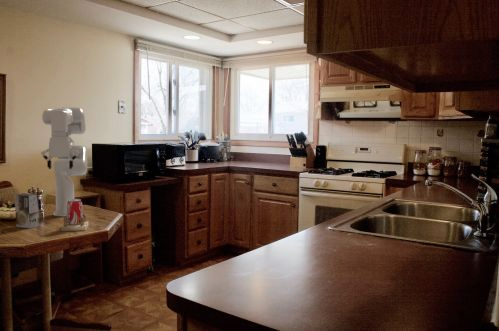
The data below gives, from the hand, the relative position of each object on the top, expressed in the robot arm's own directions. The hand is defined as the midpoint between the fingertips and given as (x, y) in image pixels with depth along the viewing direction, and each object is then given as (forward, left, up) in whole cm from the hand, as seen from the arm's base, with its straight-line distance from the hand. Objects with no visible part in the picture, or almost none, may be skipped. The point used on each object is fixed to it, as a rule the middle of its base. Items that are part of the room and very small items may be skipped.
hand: (60, 168), depth 211 cm
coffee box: (+3, -15, -28) cm, 32 cm away
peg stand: (+11, +8, -28) cm, 31 cm away
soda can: (+11, +8, -26) cm, 30 cm away
